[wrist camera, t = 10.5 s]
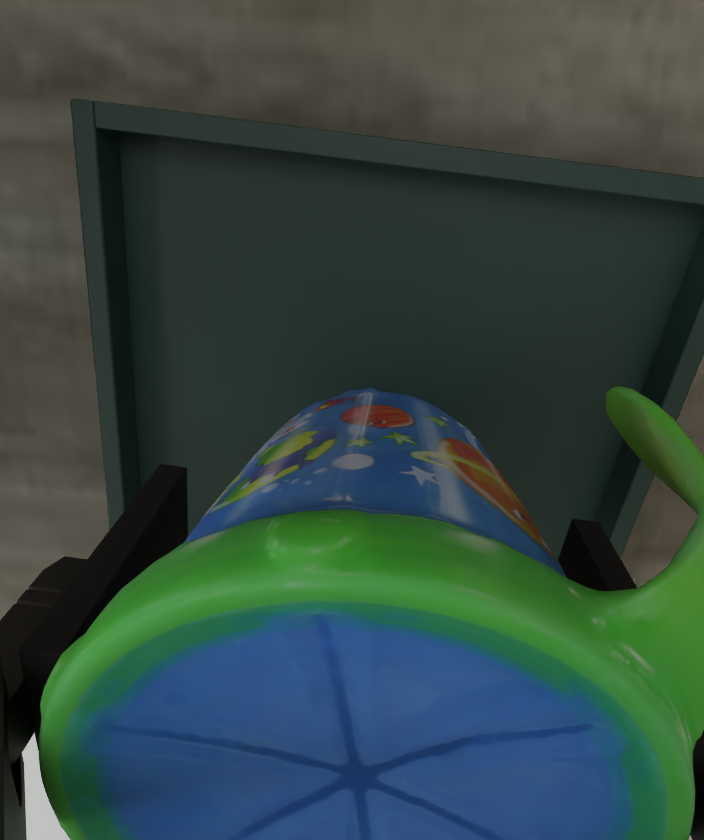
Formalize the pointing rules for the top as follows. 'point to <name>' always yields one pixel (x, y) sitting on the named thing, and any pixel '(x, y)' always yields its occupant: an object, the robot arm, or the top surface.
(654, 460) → the sippy cup
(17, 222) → the top surface
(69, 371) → the top surface
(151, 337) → the tray
